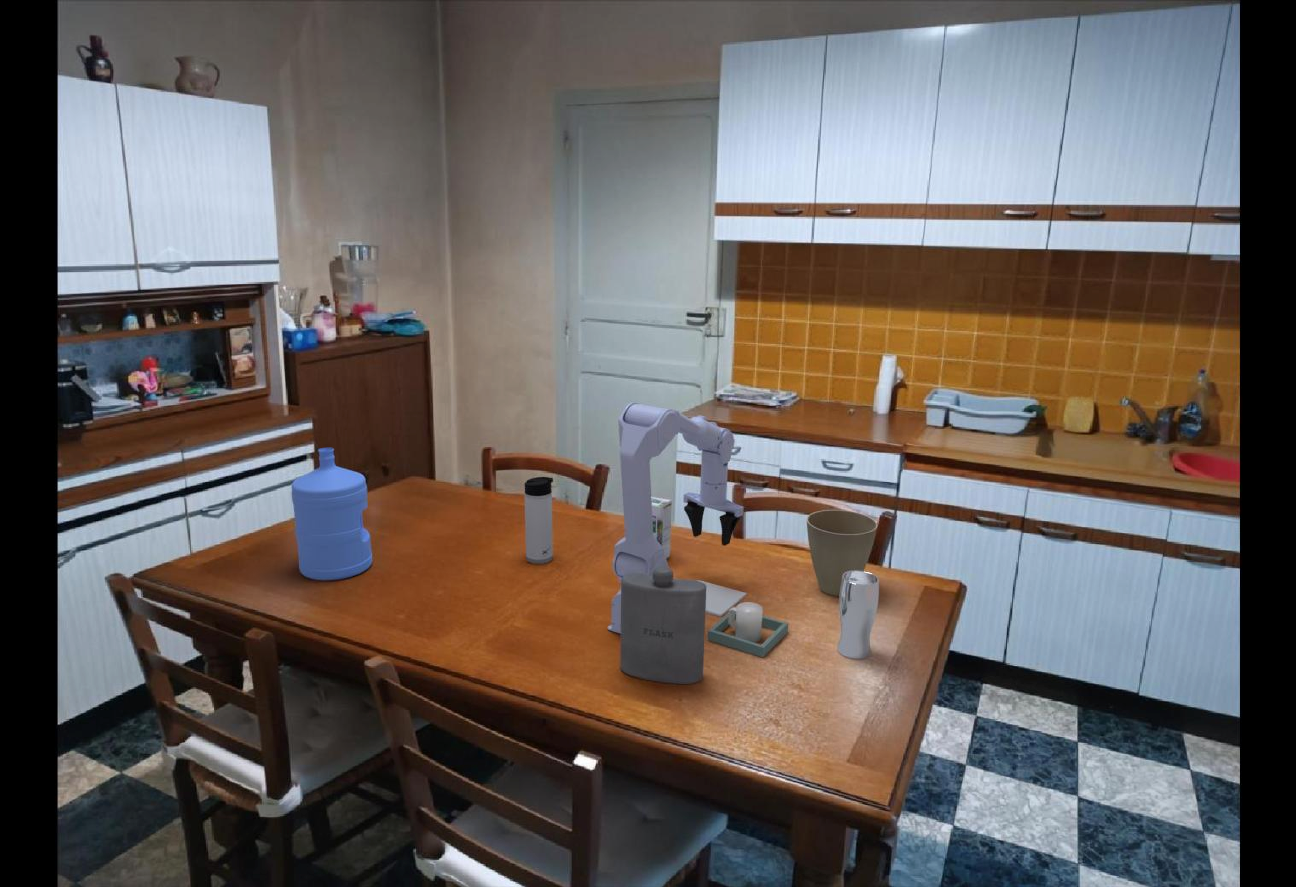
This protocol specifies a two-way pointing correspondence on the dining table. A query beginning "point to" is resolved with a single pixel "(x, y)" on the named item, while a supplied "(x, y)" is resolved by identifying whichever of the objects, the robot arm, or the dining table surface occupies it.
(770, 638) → the holder
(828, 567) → the plant pot
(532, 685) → the dining table surface
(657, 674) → the flask
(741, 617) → the jug
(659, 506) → the syrup box
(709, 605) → the mat
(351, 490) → the water jug
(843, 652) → the beer glass
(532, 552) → the travel mug
